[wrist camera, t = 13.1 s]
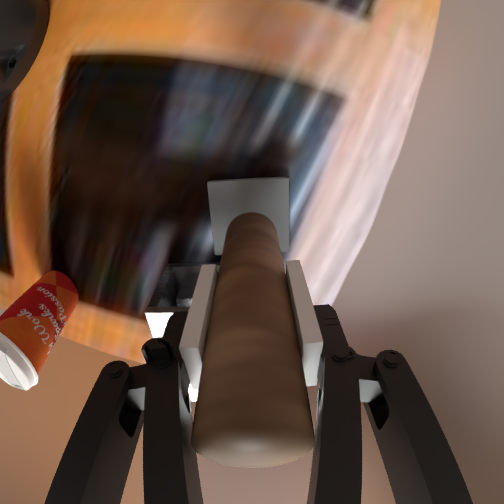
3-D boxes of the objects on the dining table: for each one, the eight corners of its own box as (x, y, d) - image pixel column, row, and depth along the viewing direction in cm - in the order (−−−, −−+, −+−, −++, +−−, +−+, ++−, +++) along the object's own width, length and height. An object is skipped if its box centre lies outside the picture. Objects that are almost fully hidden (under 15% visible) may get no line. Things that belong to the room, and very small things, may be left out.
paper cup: (94, 314, 32) (46, 400, 19) (52, 313, 32) (3, 387, 20) (72, 258, 28) (2, 339, 16) (30, 263, 29) (-35, 331, 16)
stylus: (228, 260, 24) (203, 466, 9) (224, 213, 22) (176, 417, 7) (277, 257, 24) (308, 463, 9) (276, 210, 22) (322, 414, 7)
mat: (215, 252, 28) (215, 255, 28) (208, 181, 25) (207, 182, 24) (288, 248, 28) (289, 251, 27) (287, 176, 25) (288, 178, 24)
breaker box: (261, 347, 34) (264, 400, 27) (188, 348, 34) (177, 400, 27) (257, 259, 28) (260, 310, 21) (168, 263, 29) (144, 312, 21)
